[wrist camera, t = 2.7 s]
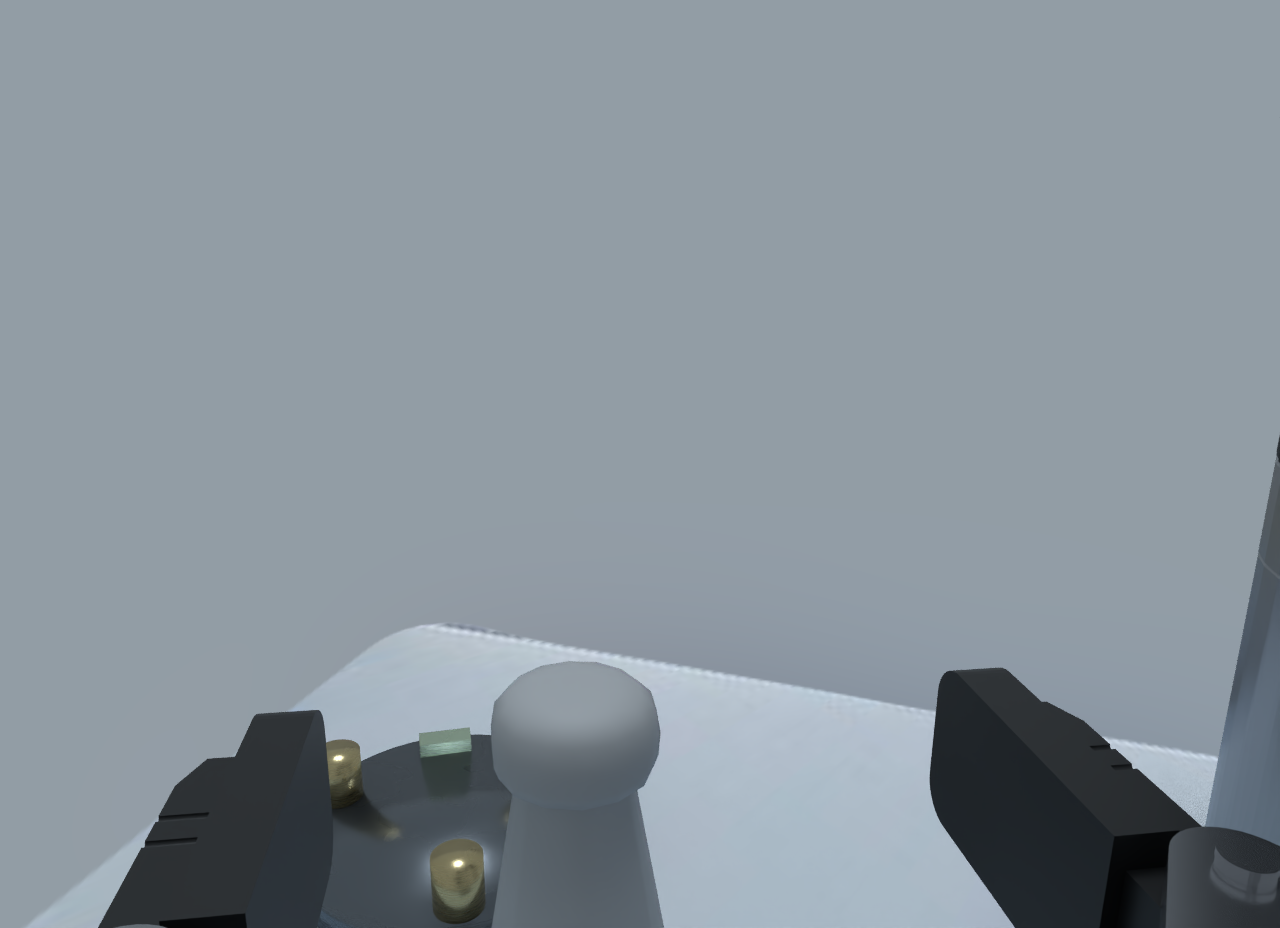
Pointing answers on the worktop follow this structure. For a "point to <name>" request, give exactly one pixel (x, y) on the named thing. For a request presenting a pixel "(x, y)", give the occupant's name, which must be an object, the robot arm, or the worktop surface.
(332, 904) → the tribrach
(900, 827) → the worktop surface
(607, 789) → the salt shaker
